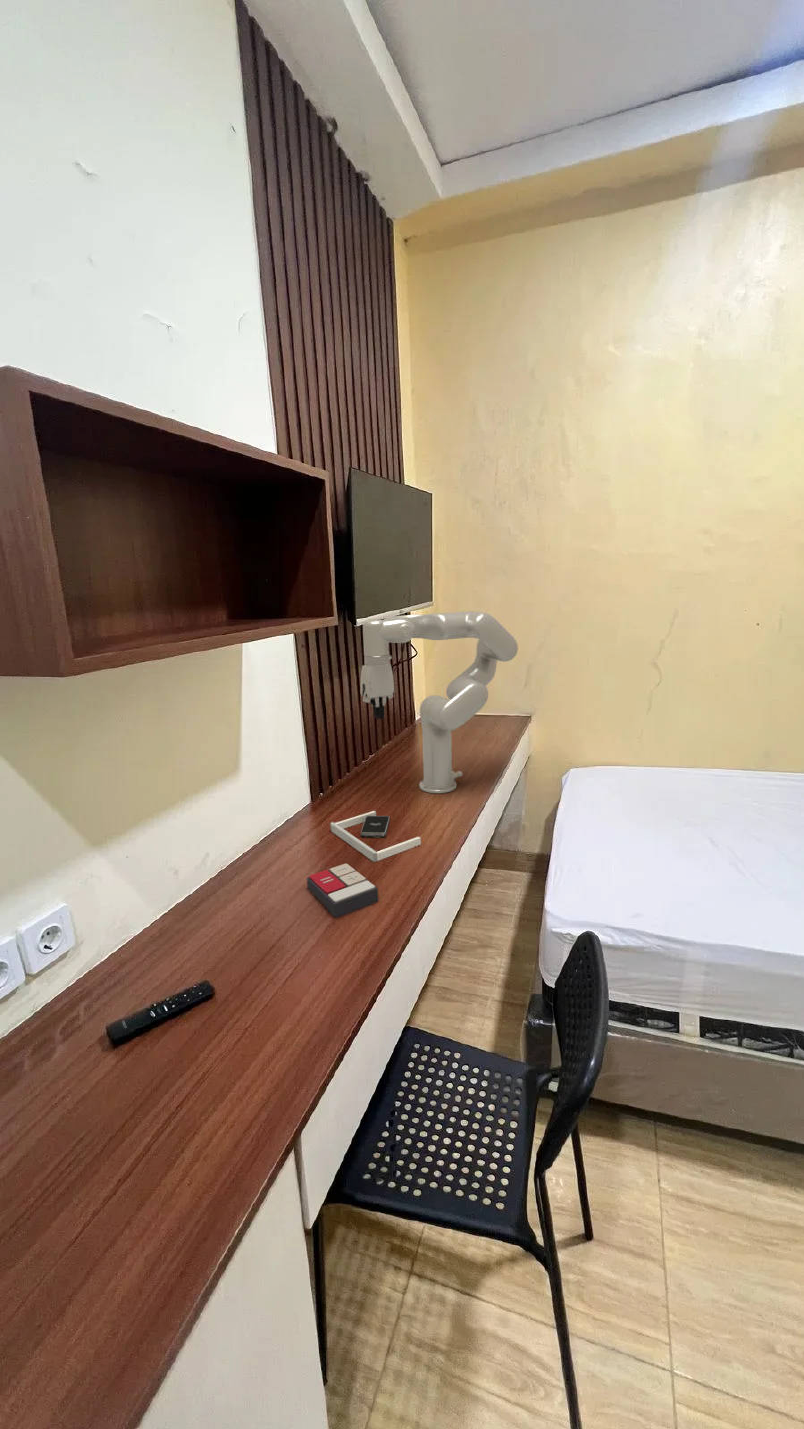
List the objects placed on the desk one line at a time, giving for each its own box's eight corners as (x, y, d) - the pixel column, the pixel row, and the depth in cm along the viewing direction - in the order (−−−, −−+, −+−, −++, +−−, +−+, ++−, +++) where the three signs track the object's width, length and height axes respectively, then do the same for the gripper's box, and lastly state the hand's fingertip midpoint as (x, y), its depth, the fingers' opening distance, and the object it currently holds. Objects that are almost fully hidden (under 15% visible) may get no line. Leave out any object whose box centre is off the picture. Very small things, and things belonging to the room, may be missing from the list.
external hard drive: (360, 839, 158) (360, 832, 157) (366, 821, 168) (366, 815, 168) (385, 839, 157) (385, 832, 157) (389, 822, 168) (389, 815, 167)
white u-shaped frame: (374, 816, 171) (374, 809, 170) (420, 844, 152) (420, 836, 152) (330, 830, 162) (330, 822, 162) (374, 862, 144) (373, 853, 143)
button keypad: (347, 860, 139) (378, 884, 126) (348, 876, 139) (379, 902, 127) (305, 874, 133) (333, 901, 120) (307, 891, 134) (335, 919, 121)
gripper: (389, 656, 180) (391, 712, 185) (349, 662, 172) (352, 720, 177) (403, 659, 174) (405, 716, 179) (362, 664, 166) (365, 724, 171)
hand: (379, 718), depth 178 cm, fingers closed
